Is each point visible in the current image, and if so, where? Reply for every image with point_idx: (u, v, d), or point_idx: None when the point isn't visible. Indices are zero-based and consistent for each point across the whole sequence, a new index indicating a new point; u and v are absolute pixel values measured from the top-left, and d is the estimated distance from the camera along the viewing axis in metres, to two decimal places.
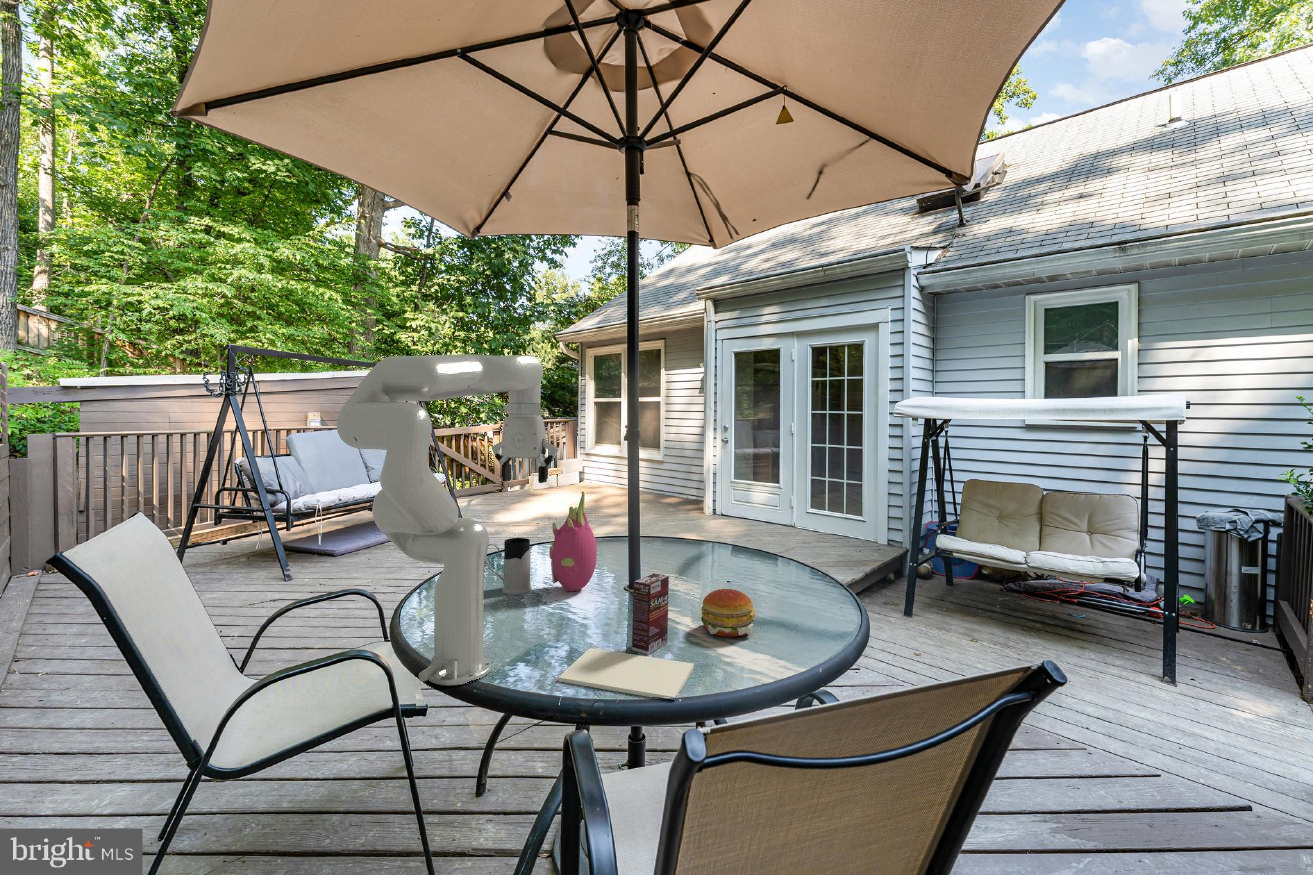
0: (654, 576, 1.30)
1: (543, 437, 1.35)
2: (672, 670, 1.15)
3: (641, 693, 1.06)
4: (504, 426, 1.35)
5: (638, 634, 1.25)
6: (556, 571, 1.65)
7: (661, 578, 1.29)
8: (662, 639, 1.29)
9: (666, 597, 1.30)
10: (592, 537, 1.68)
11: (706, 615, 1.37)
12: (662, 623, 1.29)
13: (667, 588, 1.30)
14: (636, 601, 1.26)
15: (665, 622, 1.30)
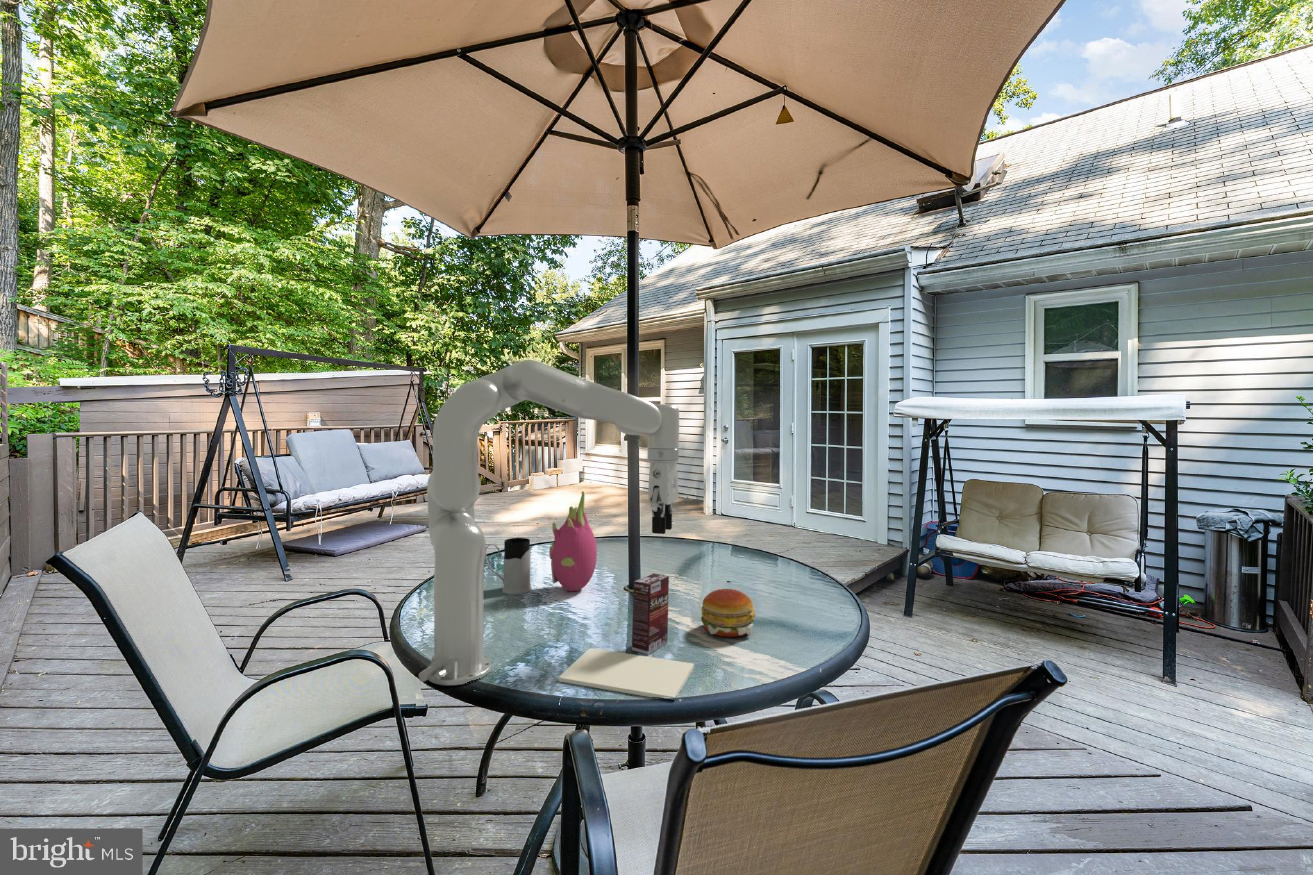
0: (654, 576, 1.30)
1: None
2: (672, 670, 1.15)
3: (641, 693, 1.06)
4: (668, 473, 1.31)
5: (638, 634, 1.25)
6: (556, 571, 1.65)
7: (661, 578, 1.29)
8: (662, 639, 1.29)
9: (666, 597, 1.30)
10: (592, 537, 1.68)
11: (706, 615, 1.37)
12: (662, 623, 1.29)
13: (667, 588, 1.30)
14: (636, 601, 1.26)
15: (666, 622, 1.30)
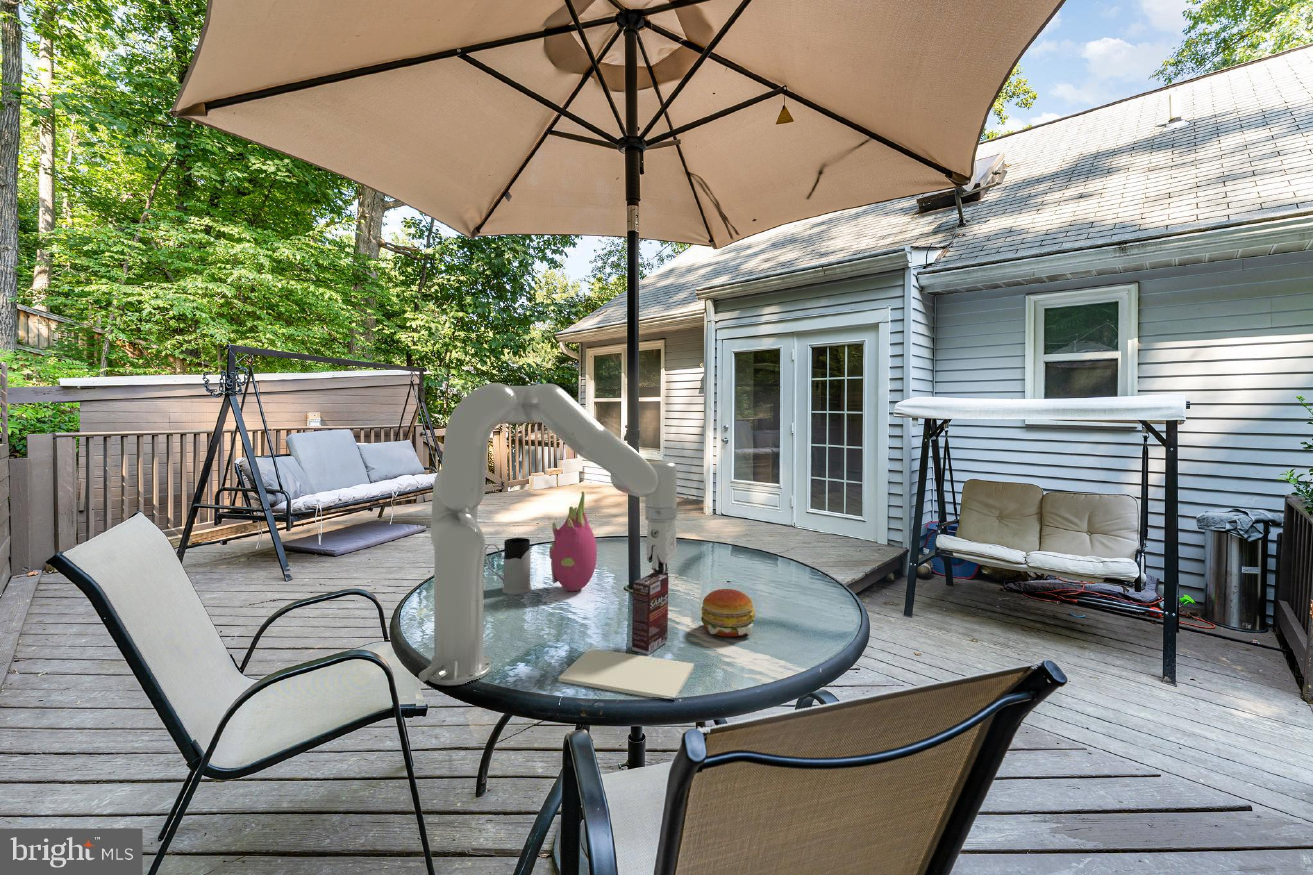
0: (654, 576, 1.29)
1: None
2: (672, 670, 1.15)
3: (641, 693, 1.06)
4: (666, 532, 1.30)
5: (637, 634, 1.25)
6: (556, 571, 1.65)
7: (661, 578, 1.28)
8: (662, 638, 1.29)
9: (666, 596, 1.29)
10: (592, 537, 1.68)
11: (706, 615, 1.37)
12: (662, 622, 1.28)
13: (667, 587, 1.30)
14: (636, 602, 1.25)
15: (665, 621, 1.30)
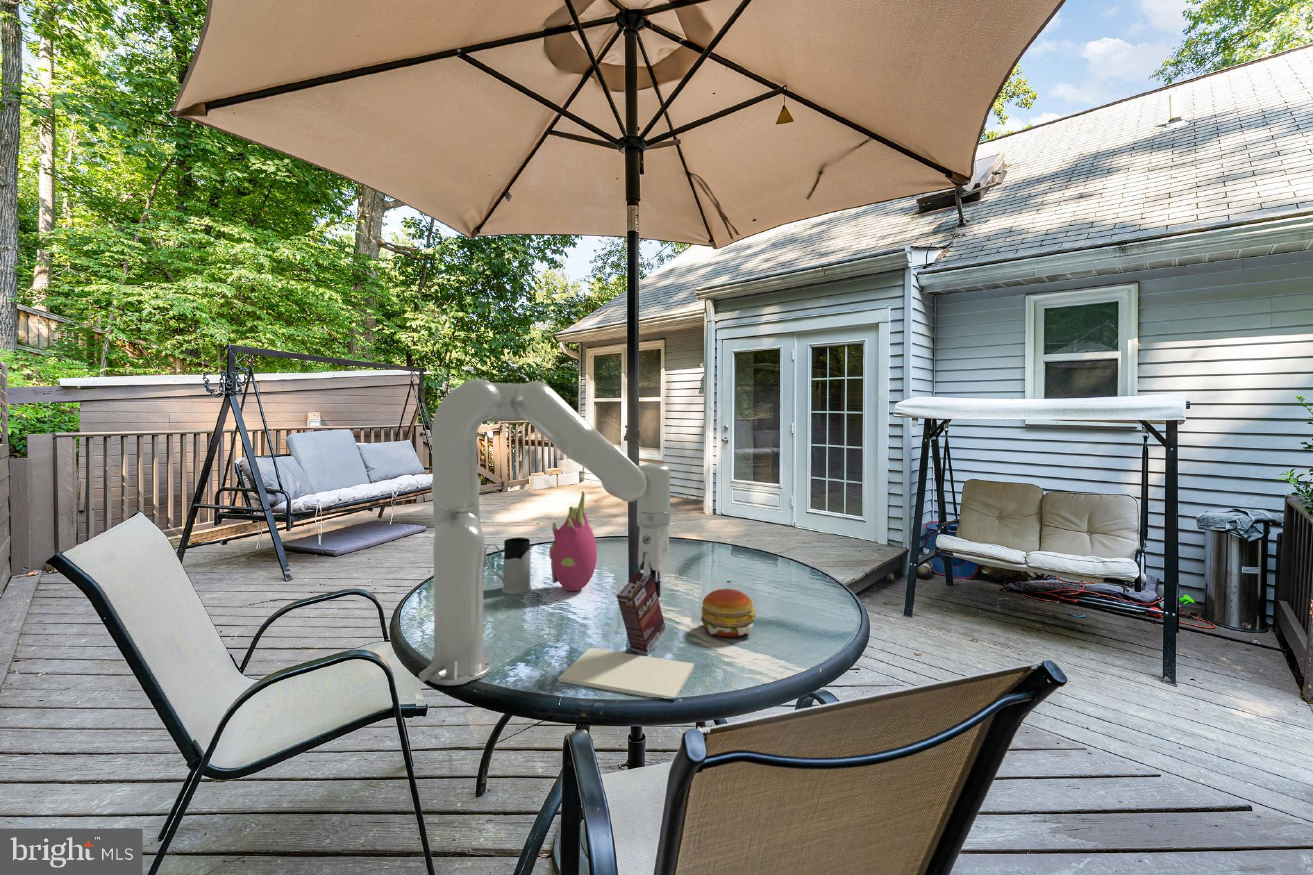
0: (637, 579, 1.24)
1: None
2: (672, 670, 1.15)
3: (641, 693, 1.06)
4: (658, 539, 1.24)
5: (633, 638, 1.24)
6: (556, 571, 1.65)
7: (645, 581, 1.23)
8: (659, 631, 1.28)
9: (654, 594, 1.25)
10: (592, 537, 1.68)
11: (706, 615, 1.37)
12: (656, 619, 1.26)
13: (653, 586, 1.25)
14: (624, 612, 1.21)
15: (659, 615, 1.28)
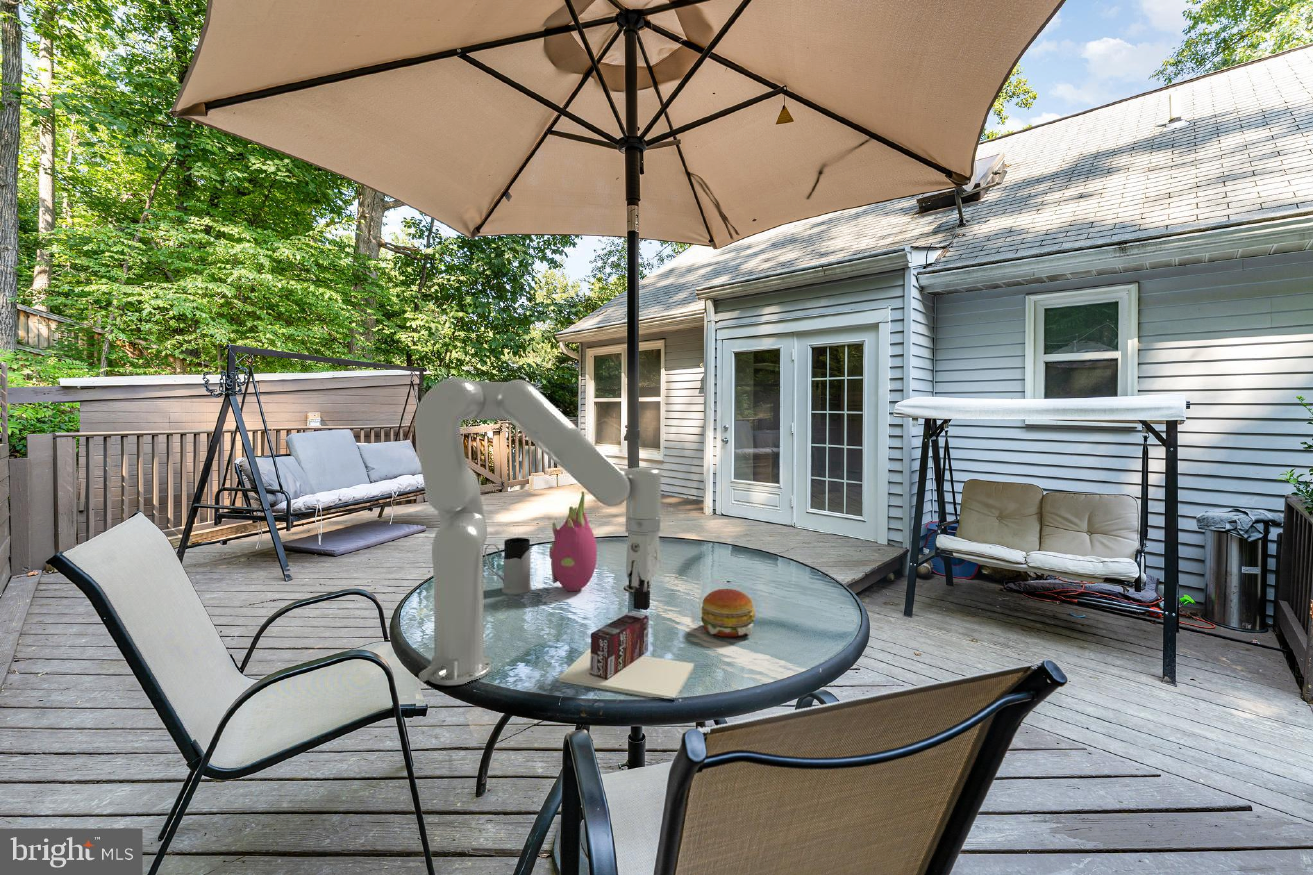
0: (597, 647, 1.12)
1: None
2: (672, 670, 1.15)
3: (641, 693, 1.06)
4: (647, 546, 1.18)
5: None
6: (556, 571, 1.65)
7: (605, 651, 1.11)
8: (645, 628, 1.22)
9: (621, 636, 1.14)
10: (592, 537, 1.68)
11: (706, 615, 1.37)
12: (636, 635, 1.19)
13: (616, 638, 1.13)
14: None
15: (637, 627, 1.19)
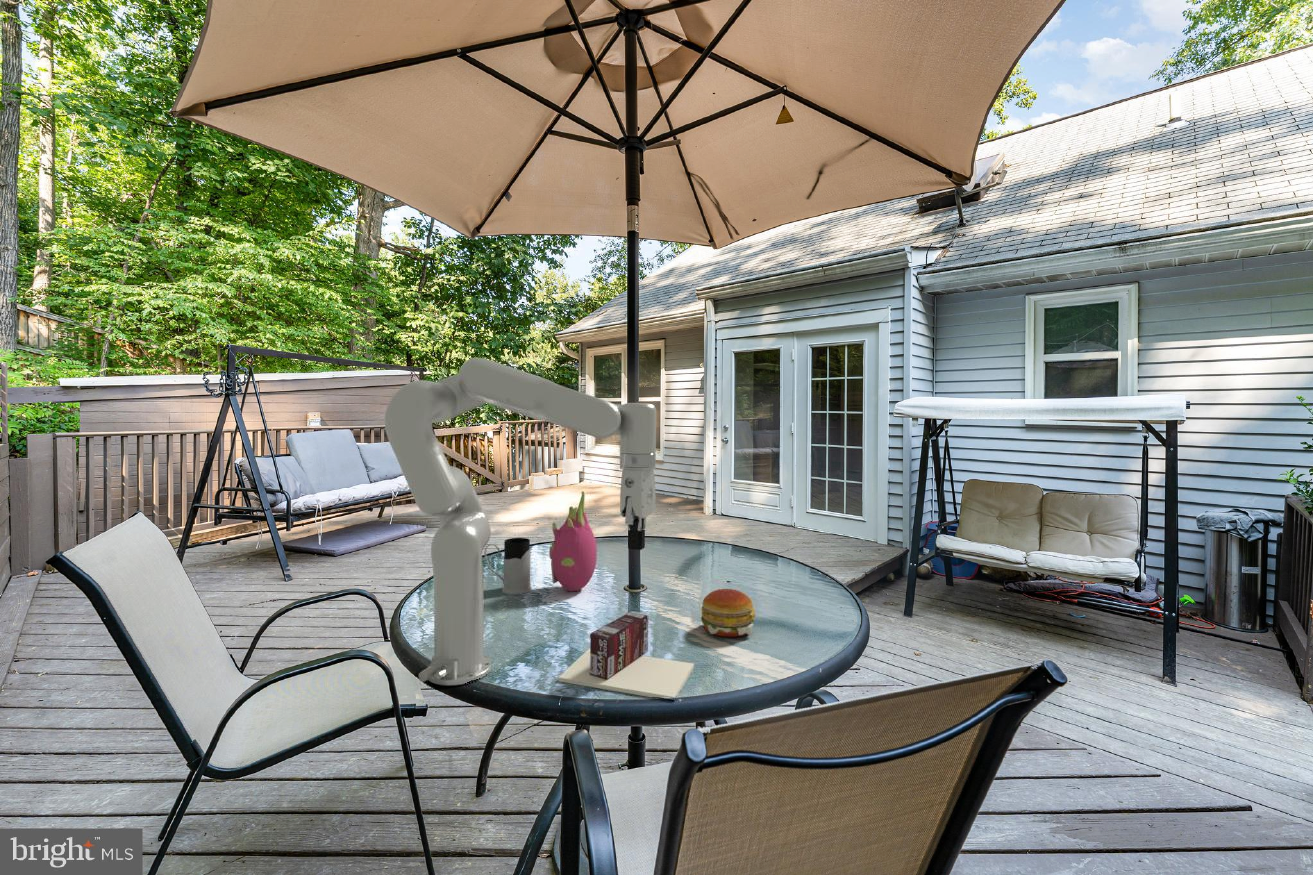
0: (596, 647, 1.12)
1: None
2: (672, 670, 1.15)
3: (641, 693, 1.06)
4: (642, 482, 1.13)
5: None
6: (556, 571, 1.65)
7: (605, 650, 1.11)
8: (645, 628, 1.23)
9: (621, 636, 1.14)
10: (592, 537, 1.68)
11: (706, 615, 1.37)
12: (636, 635, 1.19)
13: (615, 637, 1.13)
14: None
15: (636, 626, 1.19)
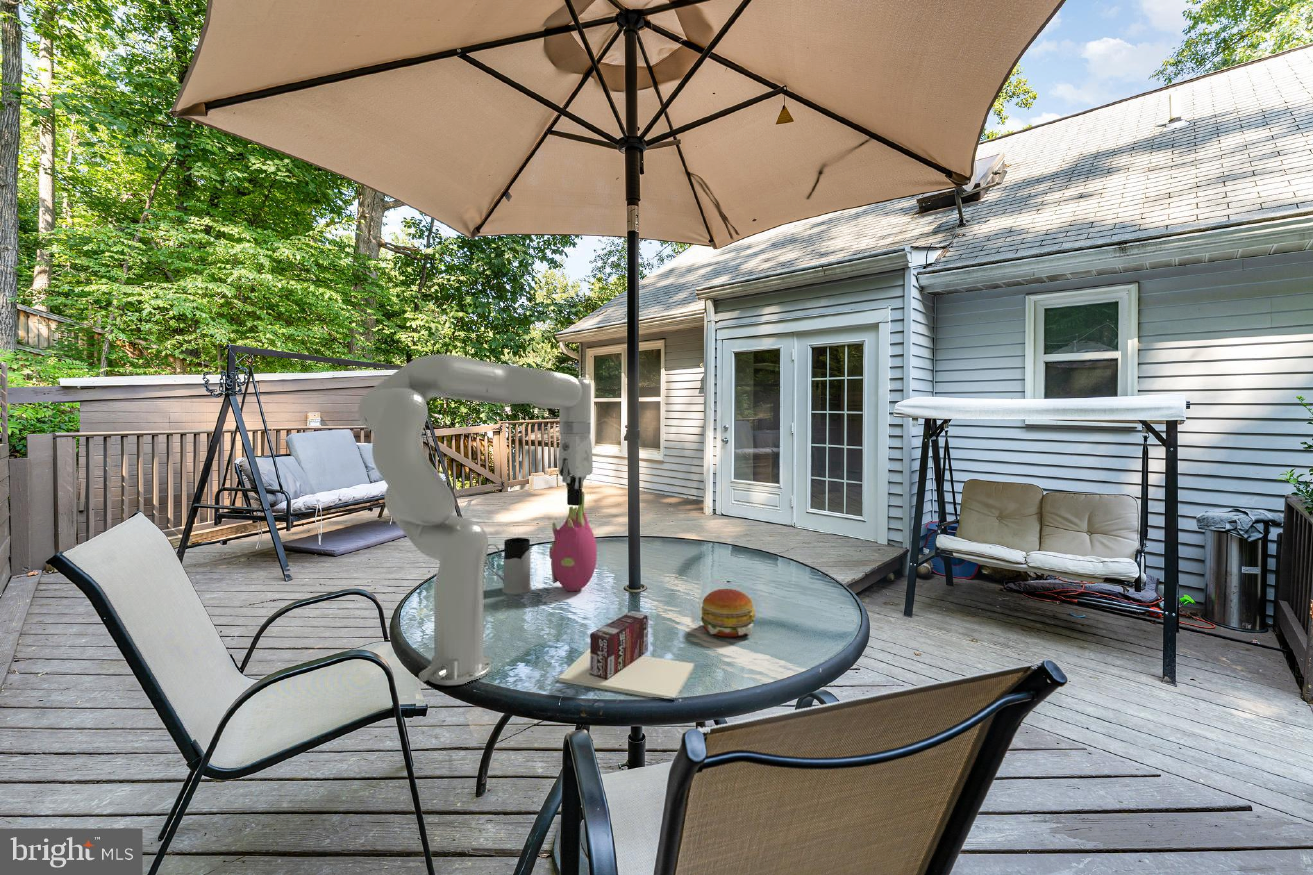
0: (596, 647, 1.12)
1: None
2: (672, 670, 1.15)
3: (641, 693, 1.06)
4: (576, 446, 1.32)
5: None
6: (556, 571, 1.65)
7: (605, 650, 1.11)
8: (645, 628, 1.23)
9: (621, 636, 1.14)
10: (592, 537, 1.68)
11: (706, 615, 1.37)
12: (636, 635, 1.19)
13: (615, 637, 1.13)
14: None
15: (636, 626, 1.19)
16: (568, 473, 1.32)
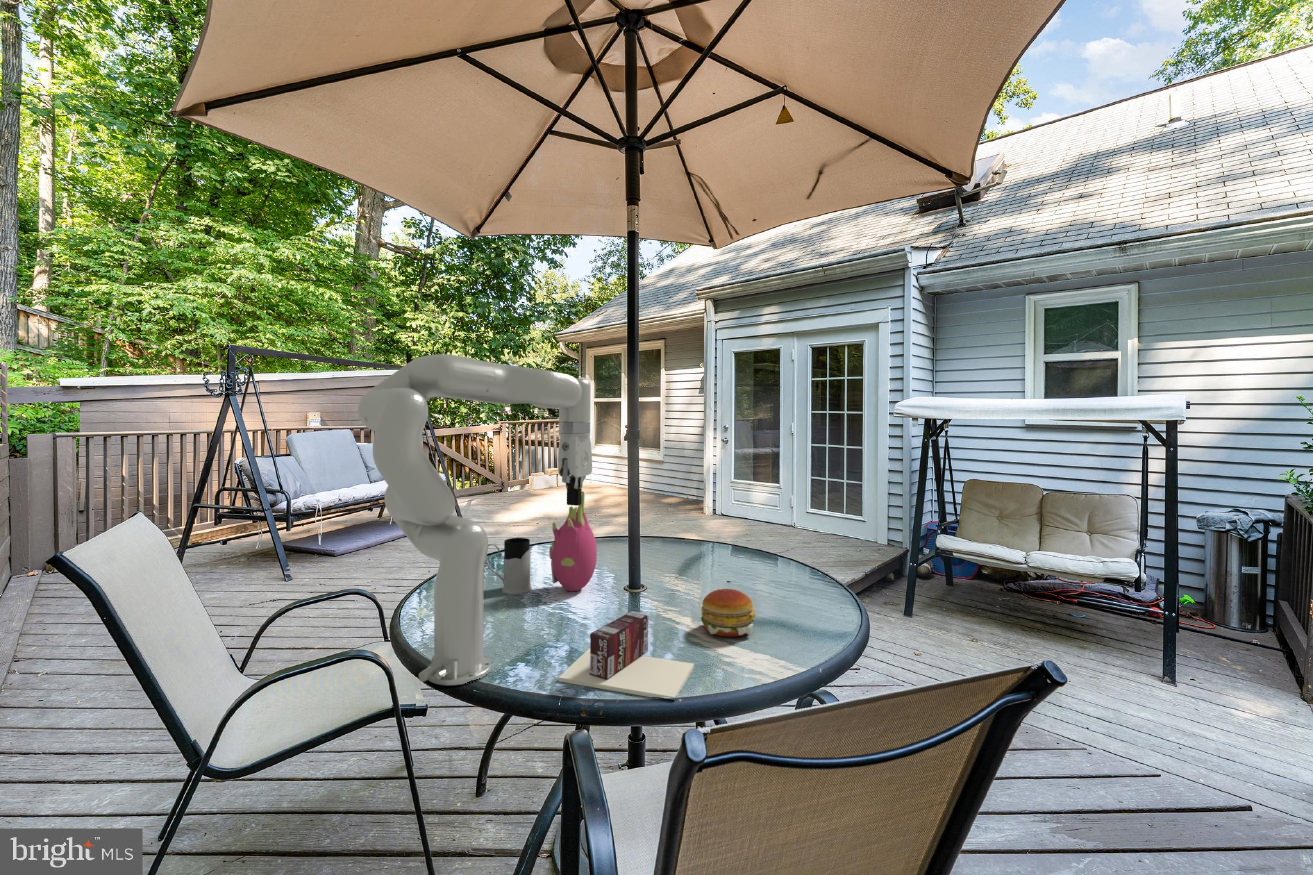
0: (596, 647, 1.12)
1: None
2: (672, 670, 1.15)
3: (641, 693, 1.06)
4: (576, 445, 1.32)
5: None
6: (556, 571, 1.65)
7: (605, 650, 1.11)
8: (645, 628, 1.23)
9: (621, 636, 1.14)
10: (592, 537, 1.68)
11: (706, 615, 1.37)
12: (636, 635, 1.19)
13: (615, 637, 1.13)
14: None
15: (636, 626, 1.19)
16: (568, 473, 1.32)
